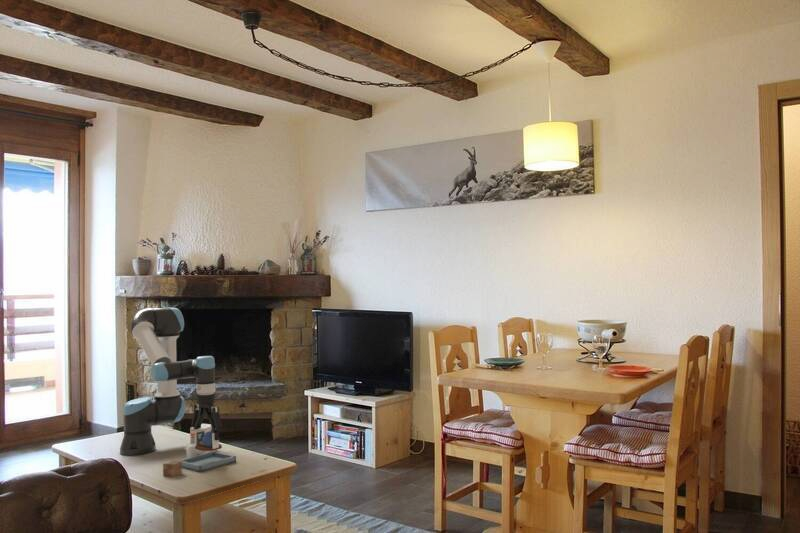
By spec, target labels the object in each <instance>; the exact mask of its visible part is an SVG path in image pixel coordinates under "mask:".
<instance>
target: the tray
mask: <svg viewBox="0 0 800 533" xmlns="http://www.w3.org/2000/svg"><path fill="white" fill-rule="evenodd" d="M178 461H182V469H185V470H190V471H192V472H197V473H202V472H206V471H209V470H212V469H216V468H219V467H224V466H227V465H230V464H234V463H236V462H237V456H236V455H232V454H228V453H223V452H219V451H213V452H209V453H206V454H197V456H194V457H190V458H187V457H186V458H183V459H179V460H178Z"/></svg>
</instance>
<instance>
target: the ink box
mask: <svg viewBox="0 0 800 533" xmlns="http://www.w3.org/2000/svg"><path fill="white" fill-rule="evenodd" d="M211 428H212V427H211V424H210V423H202V424H201V429H202V431H204V435H205V433H206V432H210V431H211ZM199 429H200V428H199ZM189 431H190V432H189V437H190V438H189V439H190V443H189V445H191V444H195V429H194V427H190V428H189ZM213 451H215V452H217V450H213ZM213 451H201V450H198V449H197V455H202V454H206V453H209V452H213Z"/></svg>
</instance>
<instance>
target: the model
mask: <svg viewBox="0 0 800 533" xmlns="http://www.w3.org/2000/svg"><path fill="white" fill-rule="evenodd" d="M212 432H213V429H212V428H211V431H210V432H206V433H205V435H204V431H202V432H197V433H196V442H197V444H196V447H195V449H198V450H201V451H213V450H216V451H217V450H220V449H222V447H223V445H222V444H220V443H219V448H215V449H212ZM198 434H202V435H201V438H200V439H199V437H198ZM199 441H200V443H199Z"/></svg>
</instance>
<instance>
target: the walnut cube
mask: <svg viewBox="0 0 800 533" xmlns="http://www.w3.org/2000/svg"><path fill="white" fill-rule="evenodd" d="M182 474H183V468H182V461H179V460H173V459H172V460H169V461H165V462H164V463H162V476H163V477H167V478H175V477H177V476H180V475H182Z"/></svg>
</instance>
